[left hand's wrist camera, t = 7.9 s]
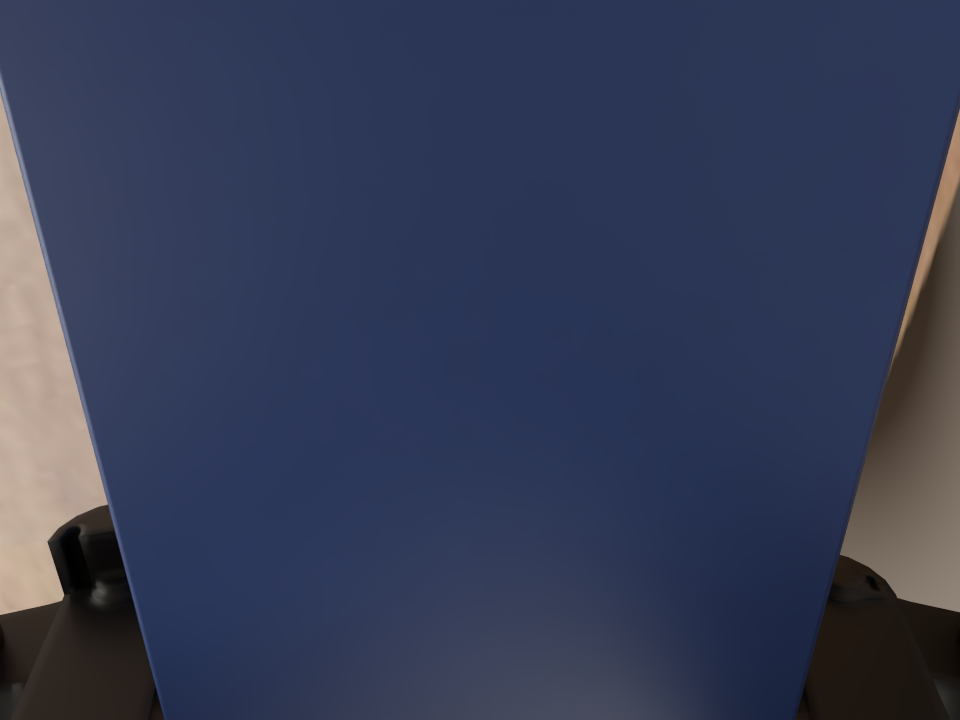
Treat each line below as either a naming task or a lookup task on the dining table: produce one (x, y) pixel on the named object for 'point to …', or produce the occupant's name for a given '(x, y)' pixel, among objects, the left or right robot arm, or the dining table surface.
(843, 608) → the left robot arm
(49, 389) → the dining table surface
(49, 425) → the dining table surface
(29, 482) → the dining table surface
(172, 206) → the box
